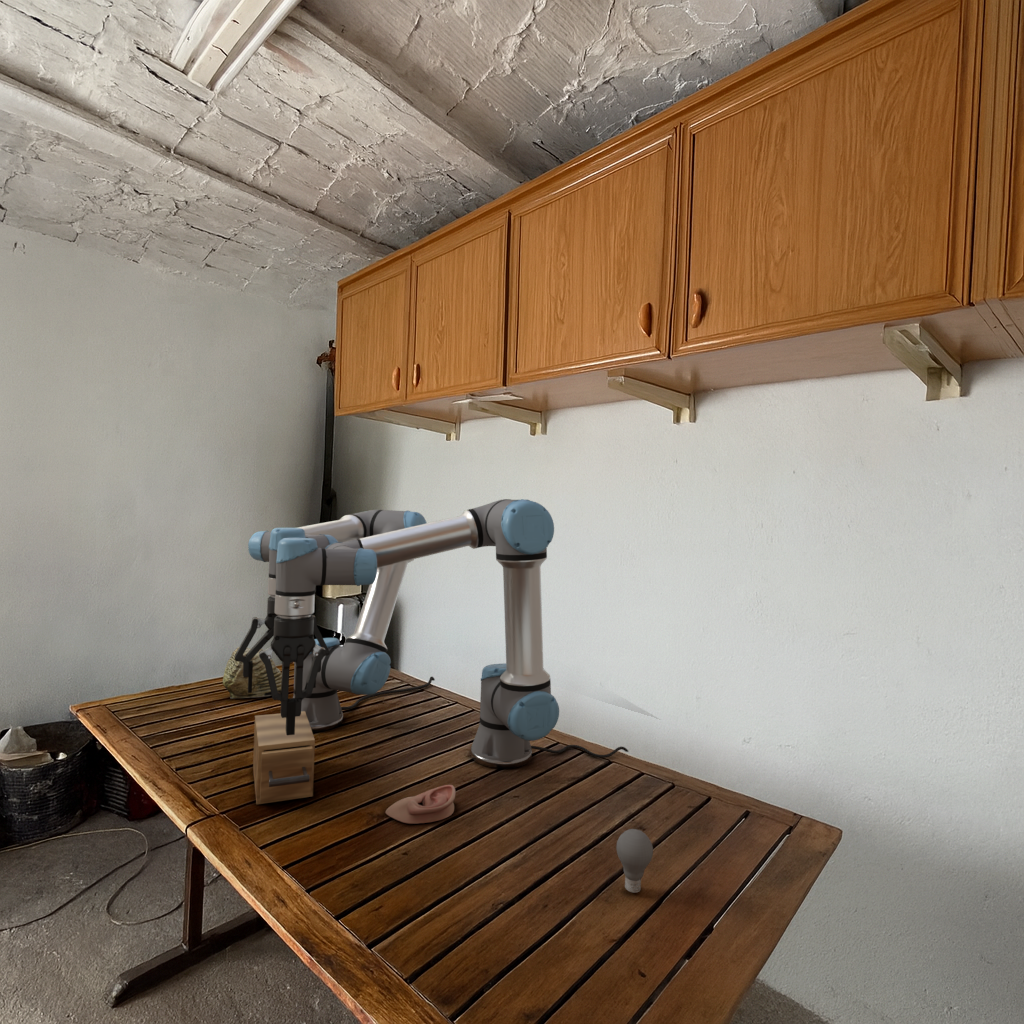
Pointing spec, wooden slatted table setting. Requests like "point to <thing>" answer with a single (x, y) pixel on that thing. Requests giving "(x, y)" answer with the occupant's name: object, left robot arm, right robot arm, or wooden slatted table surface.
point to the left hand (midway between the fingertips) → (282, 688)
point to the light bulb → (634, 857)
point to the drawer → (286, 773)
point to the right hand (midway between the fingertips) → (290, 732)
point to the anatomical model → (424, 806)
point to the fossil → (239, 683)
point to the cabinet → (279, 742)
